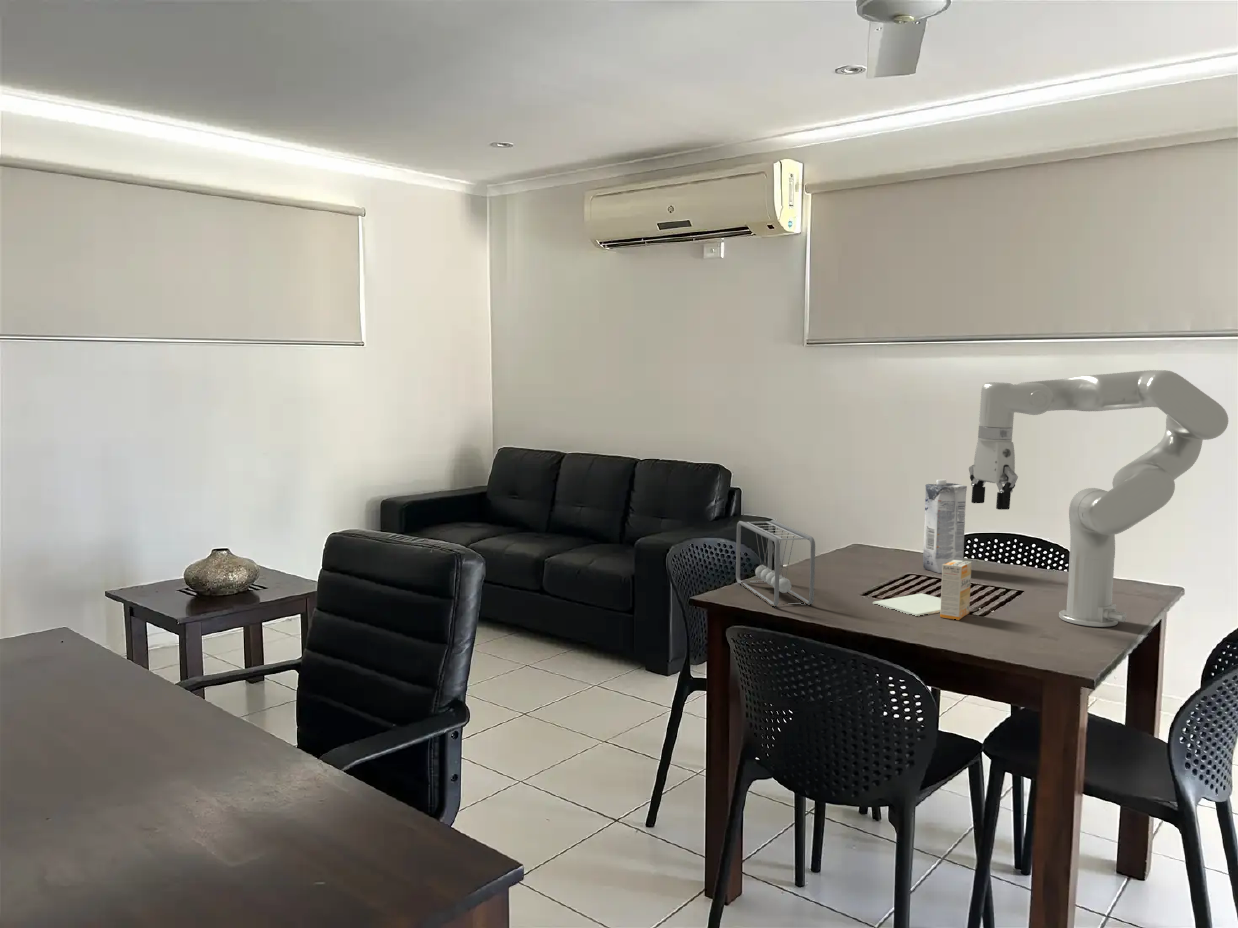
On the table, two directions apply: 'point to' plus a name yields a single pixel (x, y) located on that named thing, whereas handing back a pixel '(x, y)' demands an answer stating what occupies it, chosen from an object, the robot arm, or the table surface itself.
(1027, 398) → the robot arm
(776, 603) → the newton's cradle
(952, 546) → the juice carton
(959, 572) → the supplement box
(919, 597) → the mat
